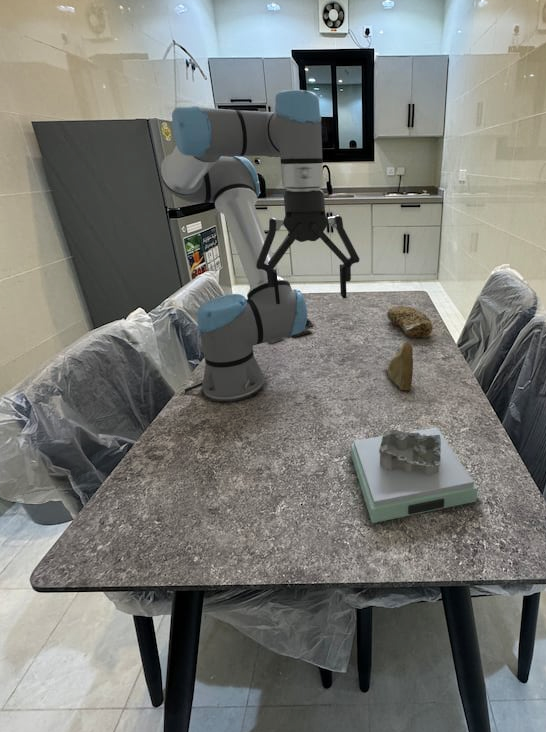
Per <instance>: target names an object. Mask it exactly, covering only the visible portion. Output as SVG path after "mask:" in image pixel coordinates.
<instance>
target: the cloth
mask: <svg viewBox="0 0 546 732" xmlns="http://www.w3.org/2000/svg"><path fill="white" fill-rule="evenodd" d="M313 326H314V325H313V322H312V321H311V319H309V318H308V317H307V322H306V326H305V328H304V330H303V331H302V332H300V333H298V334H295V335H292V336H291V337H292V338H297V337H300V336H303V335H308V334H311V333H313V332H312V331H311V330H310V329H309V328H311V327H313ZM283 340H284V338H281V339H277V340H273V341H269V342H268V343H270V344H271V345H272V344H275V343H278V342H280V341H283Z"/></svg>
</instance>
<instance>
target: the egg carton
mask: <svg viewBox="0 0 546 732" xmlns="http://www.w3.org/2000/svg"><path fill="white" fill-rule="evenodd" d="M410 432H411V431H402V430H398V429H389V430H388V431H385V432H384V433H383V434H382V436H383V438H382V442H381V445H380V449H379V453H380V465H381V466H384V468H385V469H386V470H387V471H392V470H393V469H394V468H402V469H403V470H404V471H405V472H406V473H412V472H413V471H415V470H421V471H423V472H424V473H425V475H426V476H432V474H433V473H435V472H438V471H439V465H440V463H441V456H440V454H441V438H440V435H430V436H426V435H425V434H424V435H420V434H419V433H410Z"/></svg>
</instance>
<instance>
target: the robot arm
mask: <svg viewBox="0 0 546 732" xmlns="http://www.w3.org/2000/svg"><path fill="white" fill-rule="evenodd" d="M274 99H275V100H274V101H275V102H274V103H275V104H274V111H259V110H244V109H243V110H242V109H241V110H240V109H228V108H226V109H225V108H213V107H200V106H196V105H193V106H178V107H175V108H174V109H173V111H172V113H171V118H172V119H171V126H172V134H173V139H174V142H175V147H174V149H173V151H172V153H170V154H167V156H165V157H164V159H163V160H162V162H161V163H160V167H159V177H160V180H161V182H162V184H163V186H164V187H165V189H166V191H168V192H169V193H170V194H172V195H173V196H175V197H176V198H179V199H180V200H183V201H186V202H189V203H195V204H197V203H198V204H202V203H203V204H204V203H207V204H208V203H213V204H214V207H215V209H216V211H217V212H219V213H220V214H222V215H223V216H224V218H225V221H226V224H227V227H228V230H229V232H230V235H231V238H232V240H233V241H232V242H233V243H234V247H235V250H236V252H237V255H238V257H239V260H240V263H241V266H242V268H243V271H244V275H245V278H246V280H247V283H248V285H249V290H248V292H247V293H246V297H245V295H243V294H239V293H232V294H223V295H220V296H216V297H214V298H211V299H208V300H206V301H204V302H203V303H202V304H200V306H199V307H198V308H197V310H196V322H197V323H196V324H197V325H196V326H197V330H198V332H199V337H200V341H201V348H202V353H203V358H204V362H205V366H204V372H203V378H202V382H200V383H197V384H195V385H192V386H189V387H187V388H184V392H185V393H187V392H189V391H192V390H195V389H196V388H199V387H202V393H203V395H204V397H205V398H207V399H208V400H210V401H213V402H219V403H232V402H238V401H242V400H245V399H248V398H250V397H252V396H254V395H256V394H257V393H259V392H260V391H261V390H262V389H263V388H264V387H265V384H266V381H265V380H266V379H265V374H264V372H263V370H262V368H261V366H260V364H259V363H258V360H257V359H256V357H255V354H254V346H257V345H261V344H264V343H270V342H269V341H273V340H277V339H281V338H283V339H285V338H291V337H292V335H295V334H298V333H300V332H302V331H303V330H304V328H305V326H306V322H307V318H308V309H307V306H308V305H307V302H306V298H305V296H304V294H303V292H302V291H301V290H299V289H292V286H291V283H290V281H289V280H287V279H285V278H282V275H281V273H280V269H279V267H278V263H279V262H280V261H281V259H282V258H283V257H284V255H286V253H287V251H288V249H289V248H290V247H291V246H292V245H293V244H294V242H295V241H297V242H300V243H304V242H307V241H309V242H316V241H318V240H319V239H320V240H321V241H323V243H324V244H325V245H326V246H327V247H328V248H329V250H331V251H332V253H333V254H334V255H335V256H336V257H337V258H338V259H339V260H340V261H341V263H342V264H339V283H340V284H339V287H340V296H341V297H342V299H348V298H347V296H348V295H347V282H351V279H352V269H351V267H352V266H353V264H358V263H359V262H360V256H359V255H358V254H357V251H356V250H355V247H354V245H353V244H352V241H351V239H350V238H349V236H348V233H347V232H346V230H345V228H344V222H343V217H342V216H341V215H339V214H335V215H334V216H329V217H328V216H327V215H326V201H325V192H324V190H322V188H323V187H324V186H325V183H324V167H323V165H324V164H323V138H322V137H323V135H322V116H321V110H320V99H319V96H318V95H317V94H316V93H315V92H313V91H311V90H305V89H286V90H281V91H278V92H277V93H276V94H275V97H274ZM247 157H268V158H280V171H281V181H282V188H283V189H286V190H285V191H284V192H283V204H284V218H283V219H282V218H274V217H273V216H272V217H270V218H269V219H268V231H267V234H266V233H265V230H264V228H263V225H262V222H261V219H260V217H259V213H258V211H257V208H256V206H255V205H256V204H257V202H258V197H259V196H260V190H261V189H260V188H261V187H260V181H259V176H258V172H257V170H256V168H255V167H254V165H253V163H252V162H251V161H250V160H249V159H248V158H247ZM329 224H330V226H331V227H332V228H334V229H335V230H336V232H337V234H338V236H339V238H340V240H341V241H342V243H343V245H344V247H345V249H346V251H347V253H348V255H349V256H346V255H345V254H344V253H343V252H342V251H341V250H340V248H338V246H337V245H336V244H335V243H334V242H333V241H332V240H331V239H330V237H329V236H327V234H326V233H325V230H326V228H327V227H328V225H329ZM281 227H284V228H285V229H286V230H287V231H288V233H287V235H286V237H285V238H284V239H283V241H282V242H281V244H280V245H279V247H278V248H277V249H276V250H275V252H274V254H273V252H272V249H271V247H272V245H273V242H274V239H275V236H276V232H279V231H280V230H281Z"/></svg>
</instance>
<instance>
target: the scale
mask: <svg viewBox="0 0 546 732" xmlns="http://www.w3.org/2000/svg"><path fill="white" fill-rule="evenodd" d="M409 432H410V433H419V434H420V435H424V434H425V435H426V436H430V435H440V438H441V454H440V456H441V463H440V465H439V471H438V472H435V473H433V474H432V476H426V475H425V473H424V472H423V471H421V470H415V471H413V472H412V473H406V472H405V471H404V470H403V469H402V468H394V469H393V470H392V471H387V470H386V469H385V468H384V466H381V465H380V453H379V449H380V445H381V442H382V438H383V435H381V436H375V437H368V438H362V439H355V440H353V442H351V443H350V456H351V460H352V463H353V466H354V470H355V473H356V476H357V479H358V483H359V486H360V489H361V493H362V496H363V499H364V502H365V506H366V508H367V512H368V516H369V519H370V522H371V524H376V523H380V522H386V521H390V520H395V519H400V518H405V517H409V516H413V515H418V514H424V513H427V512H433V511H438V510H444V509H448V508H451V507H457V506H462V505H466V504H470V503H476V502H477V496H478V491H479V490H478V489H479V488H478V486H477V485H476V484H475V481H474V480H473V478H472V477H471V475H470V474H469V472H468V470H467V469H466V468H465V466H464V465H463V463H462V461H461V460H460V459H459V458H458V456H457V454H456V453H455V451H454V449H452V447H451V446H450V444H449V443H448V441H447V440H446V438H445V437H444V435H443V434H442V432H441V431H440V429H439V427H438V426H436V427H429V428H423V429H418V430H417V429H416V430H411V431H409Z"/></svg>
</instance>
